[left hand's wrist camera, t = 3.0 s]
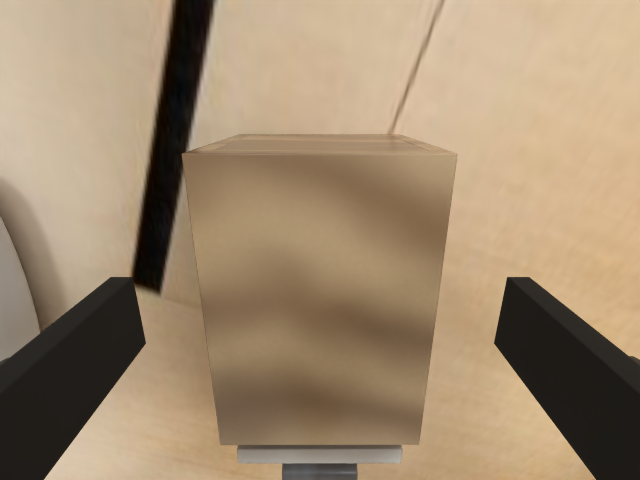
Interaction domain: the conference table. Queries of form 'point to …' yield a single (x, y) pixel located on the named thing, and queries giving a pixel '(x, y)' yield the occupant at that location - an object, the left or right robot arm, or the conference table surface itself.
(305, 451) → the drawer
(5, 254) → the projector
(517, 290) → the left robot arm
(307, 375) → the cabinet
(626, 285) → the conference table surface
